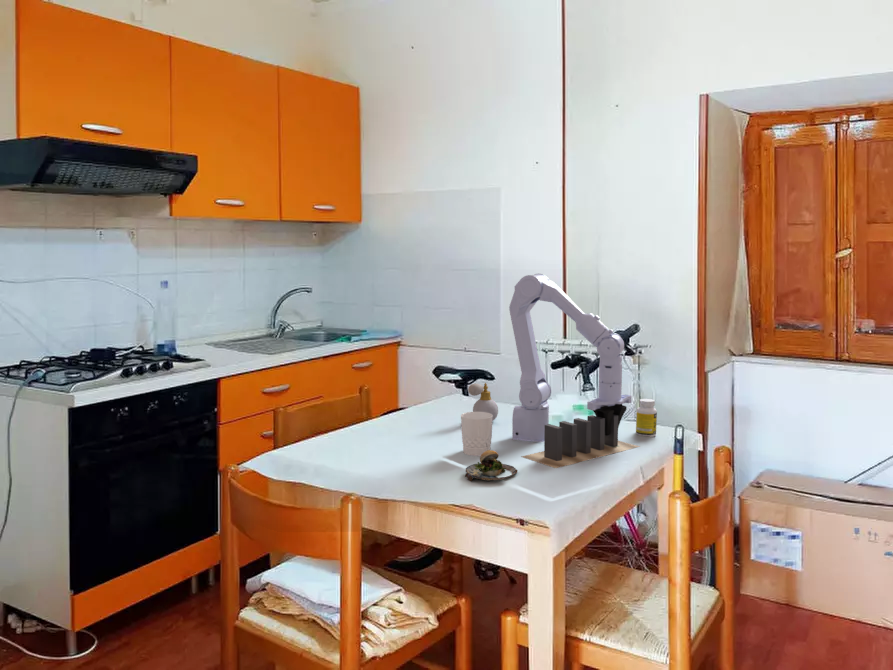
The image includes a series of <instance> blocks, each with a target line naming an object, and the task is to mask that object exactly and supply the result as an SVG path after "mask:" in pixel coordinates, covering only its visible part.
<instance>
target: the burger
mask: <svg viewBox="0 0 893 670" xmlns="http://www.w3.org/2000/svg"><path fill="white" fill-rule="evenodd" d="M486 444H487V443H486ZM498 458H499V453H498V452H497V451H495V450H492V449H490V450H487V451H485V452H484V453H483V454H482V455H481V456H479V461H480V462H479V461H478V462H477V463H474V464H471V465H469V466H467V467H466V468H465V475H464V477H465V478H466V479H467V481H469V482H471V483H472V482H473V478H475V479H477V480H483V481H500V480H505V479H508V478H510V477H512V476H513V475H515V474H518V469H516V467H514V466H513V465H510V464H505V463H502V461H501V460H498ZM506 471H509V472H511V474H510V475H508V476H502V477H499V475H501V474H502V473H505V472H506Z"/></svg>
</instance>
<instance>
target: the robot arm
mask: <svg viewBox="0 0 893 670" xmlns="http://www.w3.org/2000/svg"><path fill="white" fill-rule="evenodd" d="M547 276H548V275H547ZM547 276H546V275H545V274H543V273H535V274H532V275H531V274H527V275H524V276H522V277H521V278H520V279H519V281H518V282H517V283H516V284H515V285H514V290H513V291H514V292H513V295H512V298H511V301H510V304H509V307H508V308H509V309H508V310H509V315H510V321H511V325H512V329H513V336H514V341H515V346H516V351H517V356H518V361H519V366H520V371H521V373H520V374H521V375H520V379H519V386H520V387H519V388H520V389H519V394H518V398H519V401H520V403H521V405H515V406H514V407H513V410H512V419H511V420H512V421H511V423H512V425H511V426H512V427H511V428H512V434H511V435H512V437H511V440H512V441H513V440H514V441H525V442H535V443H544V435H545V425H547V424H550V423H549V419H550V417H549V416H550V415H549V413H550V410H549V409H550V408H549V407H550V405H549V403H548V400H549V398H550V397H551V395H552V387H551V386H550V384H549V382H548V381H547V378H546V375H545V373H544V371H543V370H542V368H541V363H540V358H539V353H538V352H539V351H538V348H537V342H536V337H535V332H534V327H533V322H532V317H531V310H532V309H533V308H534V306H535V305H536V304H537V302H539V301H542V302H548V303H551V304H554V305H555V306H556V307H557V308H558V309H559V310H561V312H563V313H564V314H565V315H566V316H568V317H569V318H570V319H571V320H572V321H573V322H574V323H575V329H576V331H577V332H578V333H579V334H580V335H581V336H582V337H583V338H585V339H586V340H587V341H588V342H589V343H590V344H591V345H592V346H593V347H595V348H596V351H597V353H598V355H599V364H598V365H599V366H598V367H599V368H598V397H596V398H594V399H593V400H590V401H587V407H586V409H587V410H590V411H593V413H594V416H597V417H601V418H605V435H607V436H608V435H609V433H610V424H611V419H612V415H613V414H615V415H618V429H619V427H620V425H621V422H622V418H623V417H624V414H625V412H626V411H627V406H626V405H623V404H631V403H632V395H629V394H622V389H623V388H622V383H623V382H622V381H623V380H622V379H623V362H622V361H623V356H622V353H623V351H624V349H625V341H624V340H623V338H622V337H621V334H618V333H614V330H613V329H612V328H609V327H607V325H605V324H604V323H603V321H601V320H600V319H601V317H600V316H599V315H598V314H595V315H594V313H592V312H591V313H590V312H588V313H586V312H584V311H583V310H582V309H581V308H580V307H579V306H578V305H577V304H576V303H575V301H573V300H572V299H571V298H570V296H568V295H567V294H566V293H565V291H564V290H562V289H561V287H559V286H558V285H557V284H556V282H554V281H553V280H551V279H549V277H547Z"/></svg>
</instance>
